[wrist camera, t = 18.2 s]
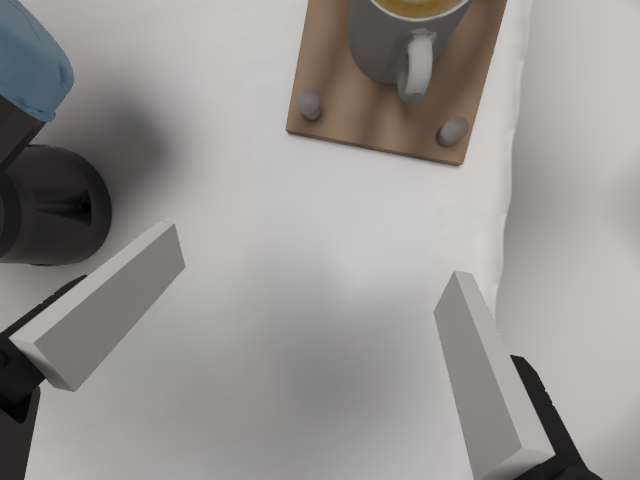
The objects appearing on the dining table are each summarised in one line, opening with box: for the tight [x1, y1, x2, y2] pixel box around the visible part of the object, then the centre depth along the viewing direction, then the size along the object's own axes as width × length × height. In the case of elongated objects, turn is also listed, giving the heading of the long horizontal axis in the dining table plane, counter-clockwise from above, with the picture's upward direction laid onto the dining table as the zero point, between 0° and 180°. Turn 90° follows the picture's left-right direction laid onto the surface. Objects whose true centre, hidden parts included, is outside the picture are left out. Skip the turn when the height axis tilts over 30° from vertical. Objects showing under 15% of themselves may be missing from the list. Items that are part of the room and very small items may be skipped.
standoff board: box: [286, 0, 507, 166], centre depth 28 cm, size 20×20×4 cm
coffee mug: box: [349, 0, 473, 103], centre depth 24 cm, size 13×10×10 cm
